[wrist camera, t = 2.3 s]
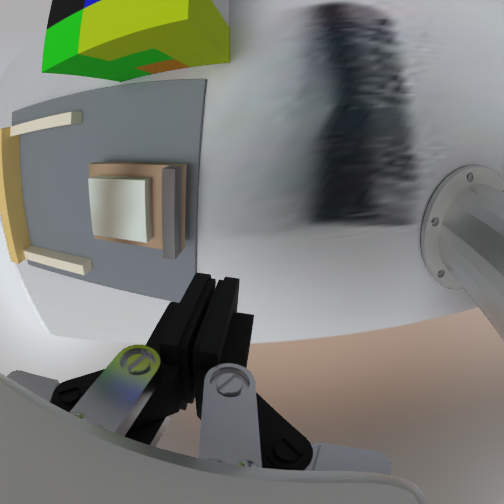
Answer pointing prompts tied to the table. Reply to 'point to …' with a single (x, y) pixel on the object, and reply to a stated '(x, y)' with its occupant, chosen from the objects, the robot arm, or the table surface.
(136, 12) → the puzzle toy
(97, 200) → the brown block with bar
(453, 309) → the table surface
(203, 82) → the mat
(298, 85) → the table surface
